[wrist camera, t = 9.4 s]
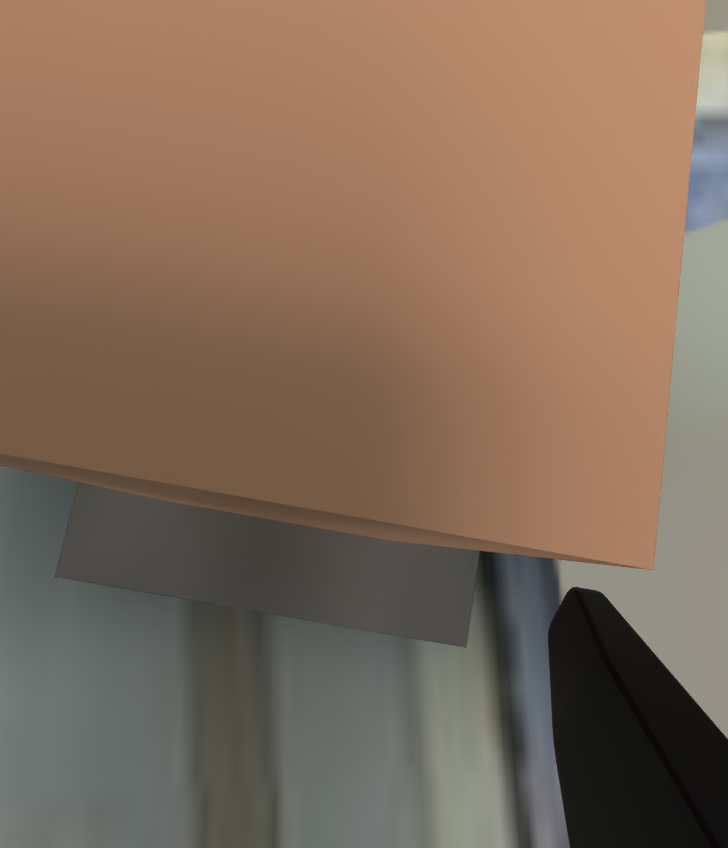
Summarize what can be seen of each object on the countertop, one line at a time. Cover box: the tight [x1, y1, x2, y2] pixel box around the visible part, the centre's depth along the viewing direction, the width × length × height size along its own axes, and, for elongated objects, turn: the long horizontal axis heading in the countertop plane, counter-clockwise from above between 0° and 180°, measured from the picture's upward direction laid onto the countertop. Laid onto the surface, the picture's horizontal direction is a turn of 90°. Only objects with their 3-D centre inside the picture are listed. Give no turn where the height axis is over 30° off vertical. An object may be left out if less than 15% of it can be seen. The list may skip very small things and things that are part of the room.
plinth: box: [55, 482, 480, 647], centre depth 18 cm, size 10×10×3 cm
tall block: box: [0, 0, 706, 570], centre depth 10 cm, size 6×6×12 cm
